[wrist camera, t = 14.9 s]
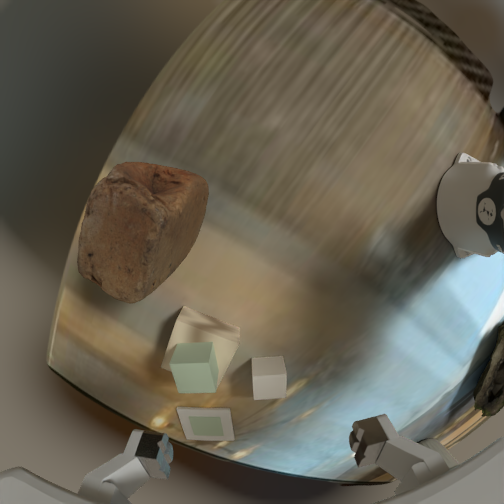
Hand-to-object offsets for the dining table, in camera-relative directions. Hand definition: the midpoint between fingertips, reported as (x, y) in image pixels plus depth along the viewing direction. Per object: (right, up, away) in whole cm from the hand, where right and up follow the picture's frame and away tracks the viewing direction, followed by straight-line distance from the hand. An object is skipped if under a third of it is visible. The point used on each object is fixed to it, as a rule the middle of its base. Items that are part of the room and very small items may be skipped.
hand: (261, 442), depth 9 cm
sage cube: (-8, -7, +26) cm, 28 cm away
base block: (-8, -5, +31) cm, 33 cm away
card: (-9, -25, +35) cm, 44 cm away
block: (-10, +14, +27) cm, 32 cm away
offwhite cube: (+2, -11, +33) cm, 34 cm away
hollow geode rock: (+62, -19, +36) cm, 74 cm away
